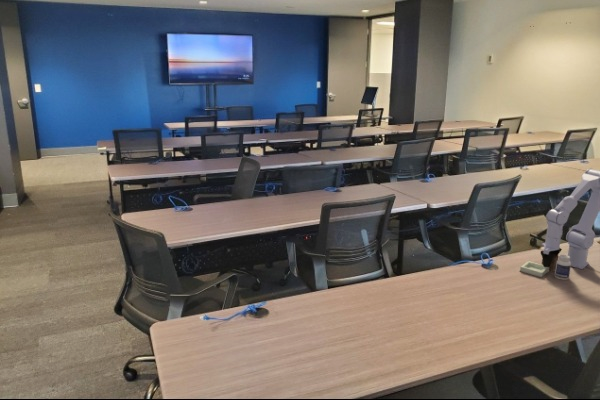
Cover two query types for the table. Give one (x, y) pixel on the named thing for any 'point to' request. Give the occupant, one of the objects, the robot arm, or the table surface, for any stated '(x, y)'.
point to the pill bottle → (563, 267)
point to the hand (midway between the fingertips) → (548, 265)
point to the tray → (534, 269)
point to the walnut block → (552, 263)
